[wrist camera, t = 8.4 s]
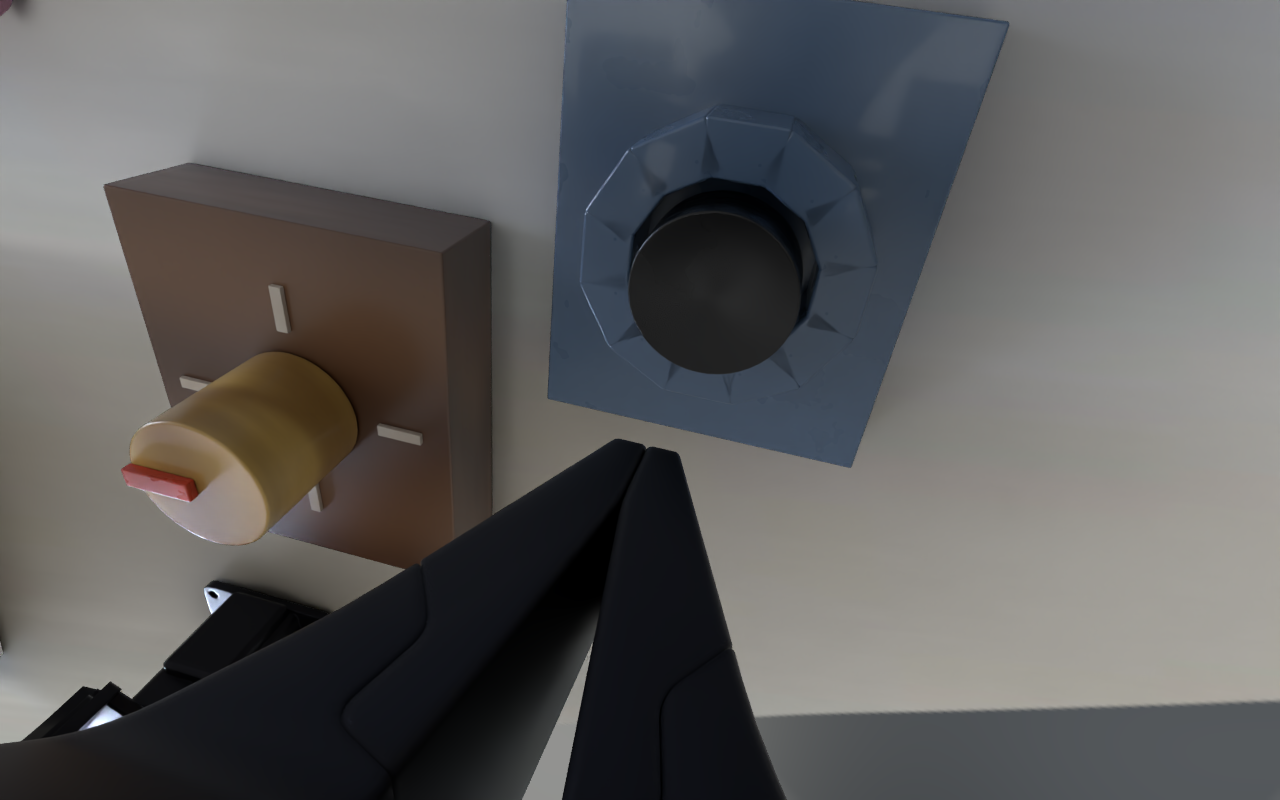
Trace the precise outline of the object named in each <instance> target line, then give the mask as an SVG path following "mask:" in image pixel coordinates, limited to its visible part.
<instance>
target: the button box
mask: <svg viewBox="0 0 1280 800" xmlns="http://www.w3.org/2000/svg"><path fill="white" fill-rule="evenodd" d="M1008 28H1009V22H1008V21H1000V20H993V19H985V18H978V17H971V16H963V15H956V14H948V13H941V12H934V11H926V10H919V9H911V8H904V7H897V6H889V5H882V4H874V3H867V2H859V1H852V0H567V9H566V29H565V50H564V70H563V91H562V111H561V132H560V152H559V173H558V193H557V214H556V234H555V255H554V275H553V296H552V316H551V337H550V357H549V378H548V399H551V400H556V401H560V402H564V403H569V404H573V405H577V406H582V407H586V408H591V409H595V410H599V411H604V412H608V413H612V414H617V415H621V416H625V417H630V418H634V419H639V420H643V421H647V422H652V423H656V424H660V425H665V426H669V427H674V428H678V429H682V430H687V431H691V432H695V433H700V434H704V435H709V436H713V437H717V438H722V439H726V440H730V441H735V442H739V443H743V444H748V445H752V446H757V447H761V448H765V449H770V450H774V451H778V452H783V453H787V454H792V455H796V456H800V457H805V458H809V459H813V460H818V461H822V462H827V463H831V464H835V465H840V466H844V467H848V468H851V467H852V464H853V461H854V459H855V456H856V453H857V450H858V447H859V445H860V442H861V439H862V436H863V433H864V431H865V428H866V425H867V422H868V419H869V417H870V414H871V411H872V408H873V405H874V403H875V400H876V397H877V394H878V391H879V389H880V386H881V383H882V380H883V377H884V375H885V372H886V369H887V366H888V363H889V361H890V358H891V355H892V352H893V349H894V347H895V344H896V341H897V338H898V335H899V333H900V330H901V327H902V324H903V321H904V319H905V316H906V313H907V310H908V308H909V305H910V302H911V299H912V296H913V294H914V291H915V288H916V285H917V282H918V280H919V277H920V274H921V271H922V268H923V266H924V263H925V260H926V257H927V254H928V252H929V249H930V246H931V243H932V240H933V238H934V235H935V232H936V229H937V226H938V224H939V221H940V218H941V215H942V212H943V210H944V207H945V204H946V201H947V198H948V196H949V193H950V190H951V187H952V184H953V182H954V179H955V176H956V173H957V170H958V168H959V165H960V162H961V159H962V156H963V154H964V151H965V148H966V145H967V142H968V140H969V137H970V134H971V131H972V128H973V126H974V123H975V120H976V117H977V114H978V112H979V109H980V106H981V103H982V101H983V98H984V95H985V92H986V89H987V87H988V84H989V81H990V78H991V75H992V73H993V70H994V67H995V64H996V61H997V59H998V56H999V53H1000V50H1001V47H1002V45H1003V42H1004V39H1005V36H1006V33H1007V31H1008ZM716 190H728V191H737V192H741V193H745V194H749V195H751V196H754V197H756V198H759V199H760V200H762V201H764V202H766V203H767V204H769V205H770V206H771V207H773V208H774V209H775V210H777V211H778V212H779V213H780V214H781V215H782V216H783V217H784V218H785V220H786V221H787V222H788V224H789V225H790V226H791V228H792V230H793V232H794V233H795V235H796V237H797V240H798V242H799V245H800V249H801V253H802V259H803V279H802V292H801V304H800V310H799V315H798V318H797V321H796V324H795V326H794V328H793V330H792V332H791V334H790V336H789V337H788V338H787V340H786V341H785V343H784V344H783V345H782V346H781V347H780V348H779V349H778V351H776V352H775V353H774V354H773V355H772V356H770V357H769V358H768V359H766V360H765V361H763V362H762V363H760V364H758V365H756V366H754V367H752V368H749V369H746V370H743V371H740V372H735V373H730V374H705V373H698V372H695V371H691V370H687V369H685V368H682V367H680V366H678V365H676V364H674V363H672V362H670V361H668V360H667V359H666V358H664V357H663V356H661V355H660V354H659V353H658V352H657V351H656V350H654V349H653V348H652V347H651V346H650V344H649V343H648V342H647V341H646V340H645V338H644V337H643V336H642V334H641V333H640V331H639V329H638V327H637V325H636V323H635V321H634V319H633V316H632V313H631V310H630V305H629V300H628V279H629V273H630V269H631V266H632V263H633V260H634V258H635V256H636V254H637V252H638V250H639V249H640V247H641V246H642V244H643V243H644V241H645V240H646V239H647V237H648V236H649V235H650V233H651V232H652V230H653V229H654V228H655V226H656V225H657V224H658V222H659V221H660V220H661V219H662V218H663V216H664V215H665V214H666V213H667V212H668V211H669V210H671V209H672V208H673V207H674V206H675V205H677V204H678V203H680V202H682V201H683V200H685V199H687V198H689V197H691V196H694V195H697V194H700V193H703V192H709V191H716Z"/></svg>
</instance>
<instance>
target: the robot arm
mask: <svg viewBox="0 0 1280 800" xmlns="http://www.w3.org/2000/svg"><path fill="white" fill-rule="evenodd" d="M420 565H421V566H420ZM420 565H419V564H417V563H416V564H413V565H412V566H410V567H409V568H407V569H405V570H404V571H402V572H401V573H399V574H397V575H396V576H394V577H393V578H391V579H389V580H388V581H386V582H384V583H383V584H381V585H379V586H378V587H376V588H374V589H372V590H371V591H369V592H367V593H366V594H364V595H362V596H361V597H359V598H357V599H356V600H354V601H352V602H350V603H349V604H347V605H345V606H343V607H342V608H340V609H338V610H336V611H334V612H332V613H330V614H328V613H326V612H323V611H320V610H317V609H313V608H310V607H306V606H303V605H299V604H296V603H292V602H289V601H285V600H282V599H278V598H275V597H271V596H268V595H265V594H261V593H258V592H254V591H251V590H247V589H244V588H240V587H237V586H233V585H230V584H226V583H223V582H219V581H211V582H210V583H209V584H208V585H207V586H206V587H205V588H204V593H205V596H206V599H207V602H208V605H209V608H210V611H211V615H210V616H209V617H208V618H207V619H206V620H205V621H204V622H203V623H202V624H201V625H200V626H199V627H198V628H197V629H196V630H195V631H194V632H193V633H192V634H191V635H190V636H189V637H188V638H187V639H186V640H185V641H184V642H183V643H182V644H181V645H180V646H179V647H178V648H177V649H176V650H175V651H174V652H173V653H172V654H171V655H170V656H169V657H168V658H167V659H166V661H165V662H164V667H163V668H162V669H161V670H160V671H159V672H158V673H157V674H156V675H155V676H154V677H153V678H152V679H151V680H150V681H149V682H148V683H147V684H146V685H145V686H144V687H143V688H142V689H141V690H140V691H139V692H138V693H137V694H136V695H135V696H134V697H133V698H132V699H131V698H129V697H128V696H126V695H125V694H123V693H122V692H120V691H121V690H122V689H121V688H119V687H118V686H116V685H115V684H113V683H112V682H109V683H108V684H107V685H106V686H105V687H104V688H103V689H102V690H99V689H92V688H88V687H84V686H83V687H82V688H80V689H79V690H78V691H77V692H76V693H75V694H74V695H73V696H72V697H71V698H70V699H69V700H68V701H66V702H65V703H64V704H63V705H62V706H61V707H60V708H59V709H58V710H57V711H56V712H54V713H53V714H52V715H51V716H50V717H49V718H48V719H47V720H46V721H44V722H43V723H42V724H41V725H40V726H39V727H38V728H36V729H35V730H34V731H33V732H32V733H30V734H29V735H28V736H27V737H26V738H25V739H23V740H22V741H20V742H12V743H4V744H0V800H522V798H523V796H524V794H525V791H526V789H527V787H528V785H529V783H530V780H531V778H532V776H533V774H534V771H535V769H536V767H537V765H538V762H539V760H540V758H541V756H542V753H543V751H544V749H545V747H546V745H547V742H548V740H549V738H550V735H551V733H552V731H553V729H554V727H555V725H556V722H557V720H558V718H559V716H560V713H561V711H562V709H563V707H564V704H565V702H566V700H567V698H568V695H569V693H570V691H571V689H572V687H573V684H574V682H575V680H576V678H577V675H578V673H579V671H580V669H581V666H582V664H583V662H584V660H585V658H586V655H587V653H588V651H589V649H590V646H591V644H592V642H593V646H592V651H591V656H590V661H589V666H588V671H587V676H586V681H585V686H584V691H583V696H582V701H581V707H580V712H579V717H578V722H577V727H576V732H575V737H574V742H573V747H572V752H571V758H570V762H569V767H568V772H567V777H566V782H565V787H564V792H563V798H562V800H787V799H786V797H785V795H784V792H783V790H782V788H781V785H780V783H779V780H778V778H777V775H776V773H775V770H774V768H773V765H772V763H771V760H770V757H769V755H768V753H767V750H766V747H765V745H764V742H763V740H762V737H761V735H760V732H759V730H758V727H757V724H756V721H755V718H754V715H753V712H752V708H751V705H750V702H749V699H748V696H747V693H746V690H745V687H744V683H743V680H742V677H741V673H740V670H739V666H738V662H737V659H736V655H735V652H734V650H732V642H731V639H730V635H729V631H728V628H727V624H726V621H725V617H724V613H723V610H722V606H721V603H720V599H719V595H718V592H717V588H716V585H715V581H714V577H713V574H712V570H711V567H710V563H709V560H708V556H707V552H706V549H705V545H704V542H703V538H702V534H701V531H700V527H699V524H698V520H697V516H696V513H695V509H694V506H693V502H692V498H691V495H690V491H689V488H688V484H687V480H686V477H685V473H684V470H683V466H682V463H681V459H680V456H679V454H678V453H677V452H674V451H669V450H665V449H661V448H656V447H649V448H647V449H646V448H645V446H644V445H643V444H639V443H635V442H631V441H627V440H622V439H614V440H612V441H611V442H609V443H607V444H606V445H604V446H603V447H601V448H599V449H598V450H596V451H595V452H593V453H591V454H590V455H588V456H587V457H585V458H583V459H582V460H580V461H579V462H577V463H575V464H574V465H572V466H571V467H569V468H567V469H566V470H564V471H563V472H561V473H559V474H558V475H556V476H555V477H553V478H551V479H550V480H548V481H547V482H545V483H543V484H542V485H540V486H539V487H537V488H535V489H534V490H532V491H531V492H529V493H527V494H526V495H524V496H523V497H521V498H519V499H518V500H516V501H515V502H513V503H511V504H510V505H508V506H507V507H505V508H503V509H502V510H500V511H499V512H497V513H495V514H494V515H492V516H491V517H489V518H487V519H486V520H484V521H483V522H481V523H479V524H478V525H476V526H475V527H473V528H471V529H470V530H468V531H467V532H465V533H463V534H462V535H460V536H459V537H457V538H455V539H454V540H452V541H451V542H449V543H447V544H446V545H444V546H443V547H441V548H439V549H438V550H436V551H435V552H433V553H431V554H430V555H428V556H427V557H425V558H423V559H422V560H421V562H420ZM593 640H594V641H593Z"/></svg>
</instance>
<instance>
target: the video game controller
mask: <svg viewBox="0 0 1280 800" xmlns="http://www.w3.org/2000/svg"><path fill="white" fill-rule="evenodd" d="M12 1H13V0H0V16H1V15H2V14H4V13H5V12H6V11H7V10H8V9H9V8H10V6H11V5H12Z"/></svg>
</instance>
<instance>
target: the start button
mask: <svg viewBox="0 0 1280 800" xmlns="http://www.w3.org/2000/svg"><path fill="white" fill-rule="evenodd" d="M802 279H803V259H802V253H801V249H800V245H799V242H798V240H797V237H796V235H795V233H794V232H793V230H792V228H791V226H790V225H789V224H788V222H787V221H786V220H785V218H784V217H783V216H782V215H781V214H780V213H779V212H778V211H777V210H775V209H774V208H773V207H771V206H770V205H769V204H767V203H766V202H764V201H762V200H760V199H759V198H756V197H754V196H751V195H749V194H745V193H741V192H737V191H728V190H716V191H709V192H703V193H700V194H697V195H694V196H691V197H689V198H687V199H685V200H683V201H682V202H680V203H678V204H677V205H675V206H674V207H673V208H672V209H671V210H669V211H668V212H667V213H666V214H665V215H664V216H663V218H662V219H661V220H660V221H659V222H658V224H657V225H656V226H655V228H654V229H653V230H652V232H651V233H650V235H649V236H648V237H647V239H646V240H645V241H644V243H643V244H642V246H641V247H640V249H639V250H638V252H637V254H636V256H635V258H634V260H633V263H632V266H631V269H630V273H629V279H628V300H629V305H630V310H631V313H632V316H633V319H634V321H635V323H636V325H637V327H638V329H639V331H640V333H641V334H642V336H643V337H644V338H645V340H646V341H647V342H648V343H649V344H650V346H651V347H652V348H653V349H654V350H656V351H657V352H658V353H659V354H660V355H661V356H663V357H664V358H666V359H667V360H668V361H670V362H672V363H674V364H676V365H678V366H680V367H682V368H685V369H687V370H691V371H695V372H698V373H705V374H730V373H735V372H740V371H743V370H746V369H749V368H752V367H754V366H756V365H758V364H760V363H762V362H763V361H765V360H766V359H768V358H769V357H770V356H772V355H773V354H774V353H775V352H776V351H778V349H779V348H780V347H781V346H782V345H783V344H784V343H785V341H786V340H787V338H788V337H789V336H790V334H791V332H792V330H793V328H794V326H795V324H796V321H797V318H798V315H799V310H800V304H801V292H802Z"/></svg>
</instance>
